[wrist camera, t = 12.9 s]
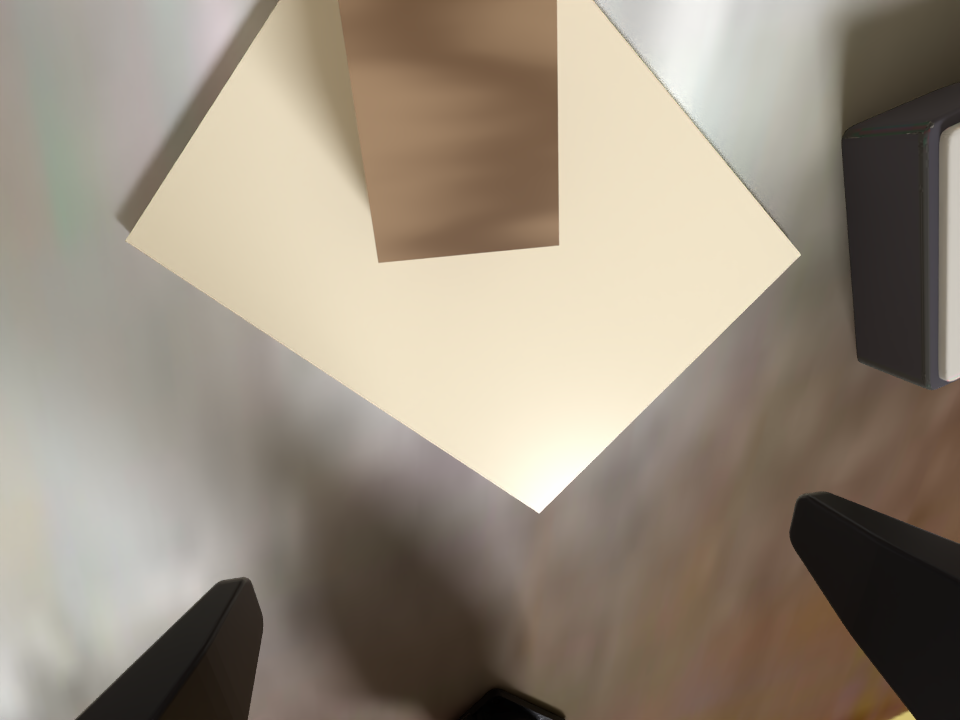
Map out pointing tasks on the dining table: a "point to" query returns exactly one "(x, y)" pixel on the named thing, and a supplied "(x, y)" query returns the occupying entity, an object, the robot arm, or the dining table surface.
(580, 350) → the placemat
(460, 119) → the walnut block
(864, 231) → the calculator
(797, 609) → the dining table surface
